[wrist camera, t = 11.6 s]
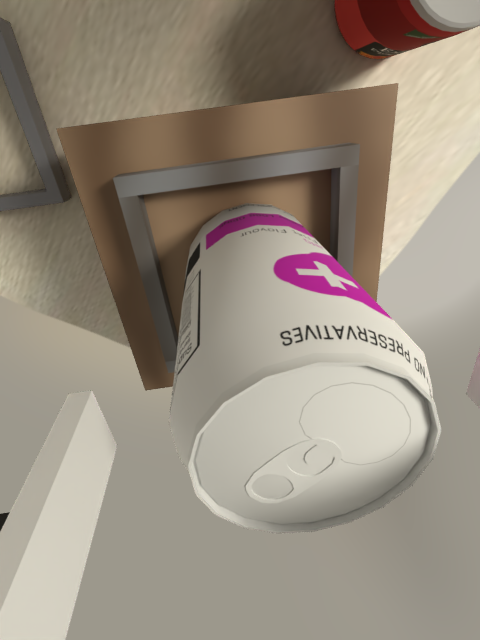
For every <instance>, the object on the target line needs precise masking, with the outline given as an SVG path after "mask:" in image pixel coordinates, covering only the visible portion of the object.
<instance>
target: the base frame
mask: <svg viewBox="0 0 480 640" xmlns="http://www.w3.org/2000/svg"><path fill="white" fill-rule="evenodd" d="M0 71H1V73H2V76H3V79H4V81H5V84H6V86H7V89H8V92H9V94H10V97H11V100H12V102H13V105H14V107H15V110H16V113H17V115H18V118H19V120H20V123H21V126H22V128H23V131H24V133H25V136H26V139H27V141H28V144H29V146H30V149H31V152H32V154H33V157H34V159H35V162H36V165H37V167H38V170H39V172H40V175H41V178H42V180H43V183H44V185H45V188H46V189H41V190H34V191H26V192H19V193H12V194H4V195H0V211H5V210H12V209H19V208H26V207H34V206H41V205H48V204H55V203H62V202H65V201H67V200H68V199H70V198H71V195H70V192H69V189H68V186H67V184H66V181H65V178H64V175H63V172H62V169H61V167H60V164H59V161H58V158H57V155H56V152H55V149H54V147H53V144H52V141H51V138H50V135H49V132H48V130H47V127H46V124H45V121H44V118H43V115H42V113H41V110H40V107H39V104H38V101H37V98H36V96H35V93H34V90H33V87H32V84H31V81H30V79H29V76H28V73H27V70H26V67H25V64H24V62H23V59H22V56H21V53H20V50H19V47H18V44H17V42H16V39H15V36H14V33H13V30H12V27H11V25H10V22H8V21H6V20H4V19H2V18H0Z"/></svg>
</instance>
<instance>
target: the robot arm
mask: <svg viewBox="0 0 480 640" xmlns="http://www.w3.org/2000/svg"><path fill="white" fill-rule="evenodd" d="M466 394H467V395H468V397H470V399H471V400H472V401H473V402H474V403H475V404H476V405H477V406H478V407H479V408H480V350H479V353H478V356H477V360H476V363H475V366H474V370H473V373H472V376H471V379H470V382H469V386H468V389H467V392H466ZM116 448H117V445H116V443H115V440H114V438H113V436H112V433H111V431H110V429H109V427H108V425H107V423H106V420H105V418H104V416H103V414H102V412H101V409H100V407H99V405H98V403H97V400H96V398H95V396H94V394H93V392H92V390H90V391H83V392H77V393H70V394H68V396H67V398H66V400H65V402H64V404H63V406H62V408H61V410H60V412H59V414H58V416H57V418H56V420H55V422H54V424H53V426H52V428H51V430H50V432H49V434H48V436H47V439H46V440H45V443H44V444H43V446H42V448H41V451H40V452H39V455H38V457H37V459H36V461H35V463H34V465H33V467H32V469H31V471H30V473H29V475H28V477H27V479H26V481H25V483H24V485H23V487H22V489H21V491H20V493H19V495H18V497H17V499H16V501H15V503H14V506H13V507H12V509H11V511H10V512H9V513H3V514H0V640H65V639H66V635H67V632H68V628H69V624H70V620H71V617H72V613H73V609H74V605H75V602H76V598H77V594H78V590H79V587H80V583H81V579H82V575H83V572H84V568H85V564H86V560H87V556H88V553H89V549H90V546H91V541H92V538H93V534H94V530H95V527H96V523H97V519H98V516H99V512H100V508H101V504H102V501H103V497H104V493H105V489H106V486H107V481H108V478H109V474H110V471H111V467H112V463H113V459H114V456H115V452H116Z"/></svg>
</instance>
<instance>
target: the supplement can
mask: <svg viewBox="0 0 480 640" xmlns="http://www.w3.org/2000/svg"><path fill="white" fill-rule="evenodd" d="M169 426H170V429H171V433H172V436H173V440H174V443H175V447H176V450H177V454H178V455H179V457H180V459H181V461H182V462H183V464H184V466H185V467H186V469H187V471H188V472H189V474H190V476H191V480H192V483H193V486H194V491H195V494H196V495H197V496H198V497H199V498H200V499H201V500H202V502H204V504H205V505H206V506H207V507H208V508H209V509H210V510H211V511H212V512H213V513H214V514H215V515H217V516H219V517H221V518H223V519H226V520H228V521H230V522H232V523H234V524H236V525H239V526H241V527H243V528H247V529H253V530H259V531H266V532H272V533H294V532H310V531H311V532H312V531H318V530H322V529H326V528H330V527H333V526H338V525H342V524H346V523H349V522H352V521H354V520H357V519H359V518H361V517H363V516H365V515H367V514H370V513H372V512H374V511H376V510H378V509H380V508H382V507H384V506H386V505H387V504H388V503H390V502H391V501H392V500H394V499H395V498H396V497H398V496H399V495H400V494H402V493H403V492H404V491H406V490H407V489H408V488H410V487H411V486H412V485H413V484H414V483H415V481H416V480H417V479H418V478H419V476H420V475H421V474H422V472H423V471H424V470H425V469H426V467H427V466H428V465H429V463H430V462H431V461H432V459H433V457H434V454H435V450H436V446H437V443H438V440H439V436H440V433H441V426H440V422H439V418H438V414H437V409H436V405H435V401H434V400H433V394H432V385H431V380H430V376H429V372H428V368H427V364H426V359H425V355H424V352H422V350H421V349H420V348H419V347H418V346H417V345H416V344H415V343H414V342H413V341H412V340H411V338H409V336H408V335H407V334H406V333H405V332H404V331H403V330H402V329H401V328H400V327H399V326H398V324H397V323H396V322H394V320H393V319H392V318H391V317H390V316H389V315H388V314H387V313H386V312H385V311H384V310H383V309H382V308H381V307H380V306H379V305H378V304H377V303H376V302H375V300H374V299H373V298H372V297H371V296H370V295H369V294H368V293H367V292H366V291H365V290H364V289H363V288H362V287H361V286H360V285H359V284H358V283H357V282H356V281H355V280H354V279H353V278H352V277H351V275H350V274H349V273H348V272H347V271H346V270H345V269H344V268H343V267H342V266H341V265H340V264H339V263H338V262H337V261H336V260H335V259H334V258H333V257H332V256H331V255H330V254H329V253H328V252H327V250H326V249H325V248H324V247H323V246H322V245H321V244H320V243H319V242H318V241H317V240H316V239H315V238H314V237H313V236H312V235H311V234H310V233H309V232H308V231H307V230H306V229H305V228H304V227H303V225H302V224H301V223H300V222H299V221H298V220H297V219H296V218H295V217H294V216H293V215H292V214H290V213H288V212H285V211H283V210H281V209H279V208H277V207H275V206H272V205H268V204H251V203H245V204H242V205H239V206H236V207H232V208H229V209H226V210H223V211H221V212H220V213H219V214H217V215H216V216H215V217H213V218H212V219H211V220H210V221H208V222H207V223H206V224H204V225H203V226H202V228H201V229H200V231H199V233H198V234H197V236H196V237H195V239H194V241H193V242H192V244H191V246H190V250H189V256H188V261H187V266H186V274H185V283H184V292H183V301H182V310H181V319H180V328H179V337H178V346H177V355H176V364H175V373H174V382H173V391H172V400H171V409H170V417H169Z"/></svg>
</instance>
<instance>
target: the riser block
mask: <svg viewBox="0 0 480 640" xmlns="http://www.w3.org/2000/svg"><path fill="white" fill-rule="evenodd" d="M397 92H398V83H396V84H389V85H381V86H374V87H366V88H359V89H351V90H344V91H336V92H329V93H321V94H314V95H306V96H299V97H291V98H284V99H276V100H269V101H261V102H254V103H246V104H239V105H231V106H224V107H216V108H209V109H201V110H194V111H186V112H179V113H171V114H164V115H156V116H149V117H141V118H133V119H126V120H118V121H111V122H103V123H96V124H88V125H81V126H73V127H66V128H58V129H57V132H58V135H59V138H60V141H61V144H62V147H63V150H64V153H65V156H66V159H67V162H68V165H69V168H70V170H71V173H72V176H73V179H74V182H75V185H76V188H77V191H78V194H79V197H80V200H81V203H82V206H83V209H84V212H85V215H86V217H87V220H88V223H89V226H90V229H91V232H92V235H93V238H94V241H95V244H96V247H97V250H98V253H99V256H100V259H101V262H102V264H103V267H104V270H105V273H106V276H107V279H108V282H109V285H110V288H111V291H112V294H113V297H114V300H115V303H116V306H117V308H118V311H119V314H120V317H121V320H122V323H123V326H124V329H125V332H126V335H127V338H128V341H129V344H130V347H131V350H132V352H133V355H134V358H135V361H136V364H137V367H138V370H139V373H140V376H141V379H142V382H143V385H144V388H145V390H151V389H158V388H165V387H172V386H173V382H174V373H175V364H176V355H177V346H178V337H179V328H180V319H181V310H182V301H183V292H184V283H185V274H186V266H187V261H188V256H189V250H190V246H191V244H192V242H193V241H194V239H195V237H196V236H197V234H198V233H199V231H200V229H201V228H202V226H203V225H204V224H206V223H207V222H208V221H210V220H211V219H212V218H213V217H215V216H216V215H217V214H219V213H220V212H221V211H223V210H226V209H229V208H232V207H236V206H239V205H242V204H245V203H251V204H268V205H272V206H275V207H277V208H279V209H281V210H283V211H285V212H288V213H290V214H292V215H293V216H294V217H295V218H296V219H297V220H298V221H299V222H300V223H301V224H302V225H303V227H304V228H305V229H306V230H307V231H308V232H309V233H310V234H311V235H312V236H313V237H314V238H315V239H316V240H317V241H318V242H319V243H320V244H321V245H322V246H323V247H324V248H325V249H326V250H327V252H328V253H329V254H330V255H331V256H332V257H333V258H334V259H335V260H336V261H337V262H338V263H339V264H340V265H341V266H342V267H343V268H344V269H345V270H346V271H347V272H348V273H349V274H350V275H351V277H352V278H353V279H354V280H355V281H356V282H357V283H358V284H359V285H360V286H361V287H362V288H363V289H364V290H365V291H366V292H367V293H368V294H369V295H370V296H371V297H372V298H373V299H374V300H375V302H376V300H377V291H378V281H379V271H380V261H381V251H382V241H383V231H384V221H385V211H386V201H387V191H388V181H389V171H390V161H391V151H392V141H393V131H394V121H395V111H396V102H397Z"/></svg>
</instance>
